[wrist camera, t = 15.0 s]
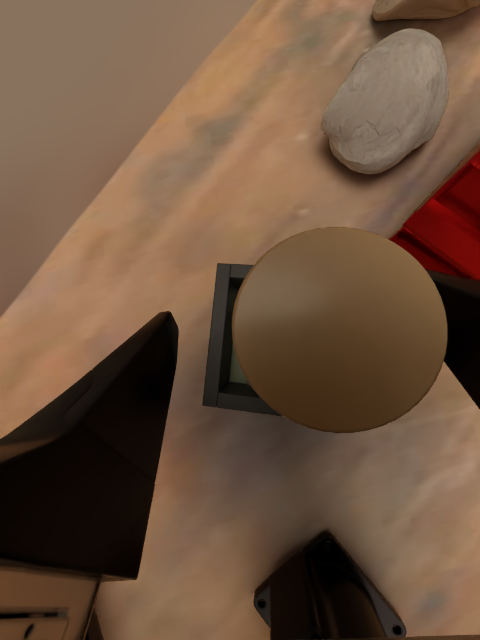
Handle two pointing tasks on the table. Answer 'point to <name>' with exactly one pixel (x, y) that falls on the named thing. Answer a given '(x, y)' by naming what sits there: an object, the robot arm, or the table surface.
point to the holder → (228, 349)
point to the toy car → (448, 223)
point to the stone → (420, 9)
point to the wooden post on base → (339, 330)
